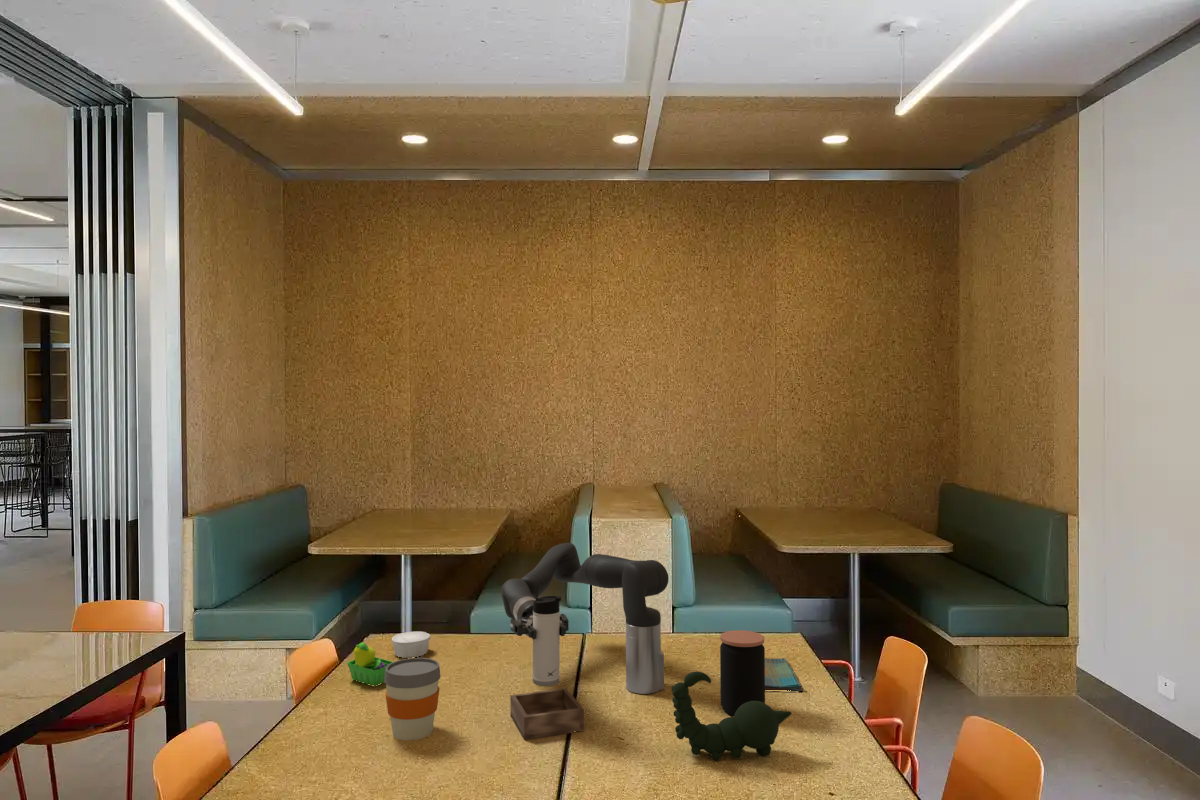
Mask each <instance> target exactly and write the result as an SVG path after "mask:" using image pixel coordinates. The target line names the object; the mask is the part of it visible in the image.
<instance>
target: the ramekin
mask: <svg viewBox="0 0 1200 800" xmlns="http://www.w3.org/2000/svg"><path fill="white" fill-rule="evenodd" d="M430 640H431V634H430V633H428V632H426V631H406V632H401V633H398V634H395V635H394V636H392V638H391V643H392V646H393V651H394V655H395V656H396V657H397V656H399V657H403V658H402V659H404V658H412V657H417V658H420V657H419V656H421V657H423V656H425V655H426V654H427V653H428V650H429V646H430ZM424 654H425V655H424ZM422 655H423V656H422ZM399 657H398V658H399Z"/></svg>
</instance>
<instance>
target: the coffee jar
mask: <svg viewBox="0 0 1200 800" xmlns="http://www.w3.org/2000/svg"><path fill="white" fill-rule="evenodd" d="M719 637H720V638H719V639H720V641H721V644H720V647H719V649H720V651H719V653H720V654H719V655H720V656H719V657H720V658H719V661H720V663H719V668H720V669H719V670H720V676H719V678H720V679H719V680H720V681H719V682H720V685H719V687H720V706H721V708H722V710H723V713H725V714H727V715H728V716H729V717H734V715H735V712H736V711H737V709H738V708H739V707H740V706H741V705H742V704H744V703H746V702H749V701H760V702H763V703H765V704H766V692H765V658H766V656H765V655H766V651H765V650H766V648H765V646H764V645H763V644H764V643H765V636H764V635H763V634H762V633H759V632H755V631H750V630H744V629H743V630H735V629H734V630H729V631H724V632H722V633H721V634H720V636H719Z"/></svg>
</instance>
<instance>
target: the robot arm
mask: <svg viewBox="0 0 1200 800" xmlns="http://www.w3.org/2000/svg"><path fill="white" fill-rule="evenodd" d="M669 578H670V576H669V574H668V571H667V568H665V566H664V565H663V564H662V563H661V562H659V561H658V560H655V559H648V560H634V559H628V558H624V557H620V556H619V557H618V556H615V555H614V556H613V555H609V554H602V553H594V554H592V555H590V556H588V557H587V558H586V559H585V560H584V561H583V562H582V564H581V562H580V558H579V553H578V550H577V547H576V546H575V544H573V543H572V542H564V543H563V542H562V543H559V544H556V545H553V546H552V547H551V548H550V549H548V550H547V552H546V553H545V554H544V555H543V557H541V559H540V561H539V562H538V563H537V564H536V566H535V567H533V568H532V570H531V571H529V572H528V573H526V574H525V575H524V576H523V577H521V578H511V579H510V578H509V579H508V580H506V581H505V582H504V583H503V584H502V586H501V589H500V591H501V592H500V593H501V597H502V603H503V607H504V612H505V614H506V616H507V617H508V618H509V619H510V630H511V632H513V633H514V634H515V635H516V636H519V637H522V636H523V634H524V635H525V636H526V637H528V638H530V639H531V640H533V639H536V629H535V628H534V627H533V608H534V607H533V601H535V600H536V599H537V598H540V596H541V595H543V594H544V593H545V592H546V591H547V590H548V589H549V588H550V585H551V584H552V581H553V579H554V580H556V581H557V582H561V583H575V584H576V583H578V584H579V583H580V584H585V585H590V586H593V587H598V588H602V589H622V591H621V592H622V607H623V611H624V616H625V687H626V690H628V691H629V692H630V693H631V692H632V693H634V694H641V695H642V694H643V695H647V694H648V695H649V694H654V693H657V692H659V691H662V690H665V653H664V651H662V641H661V640H662V638H661V637H662V636H661V635H662V633H661V632H662V628H661V627H662V626H661V625H662V623H661V622H662V615H661V612H660V611H659V610H658V609H656V608H653V607H649V606H647V601H646V598H647V597H652V596H653V597H654V596H656V595H659V594H661V593H663V592H664V591H665V589H666V588H667V587H668V584H669V580H670V579H669ZM559 614H560V613H559ZM569 623H570V621H569V618H568V617H567V615H566V614H565V613H561V614H560V637H565V635H566V634H567V631H569V630H570V629H569V627H570V625H569Z"/></svg>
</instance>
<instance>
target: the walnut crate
mask: <svg viewBox="0 0 1200 800" xmlns="http://www.w3.org/2000/svg"><path fill="white" fill-rule="evenodd" d="M509 697H510V702H509V704H510V718H511V719H513V720H512V721H513V723H514V725H515V726H516V728H517V730H518V731H519V733H520V736H521V738H523V741H528V740H533V739H534V740H535V739H541V738H546V737H547V738H548V737H554V736H560V735H569V734H572V733H571V732H574V731H581V732H583V731H582V730H584V731H585V708H583V706H582V705H581V704H580V702H579V701H578V700H577V699H576V698H575V696H574V695H573V694H572V693H571V692H570V690H569V689H568V688H567V687H563V688H557V689H555V688H554V689H549V690H540V691H533V692H524V693H518V694H510V696H509ZM574 733H575V732H574Z"/></svg>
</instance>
